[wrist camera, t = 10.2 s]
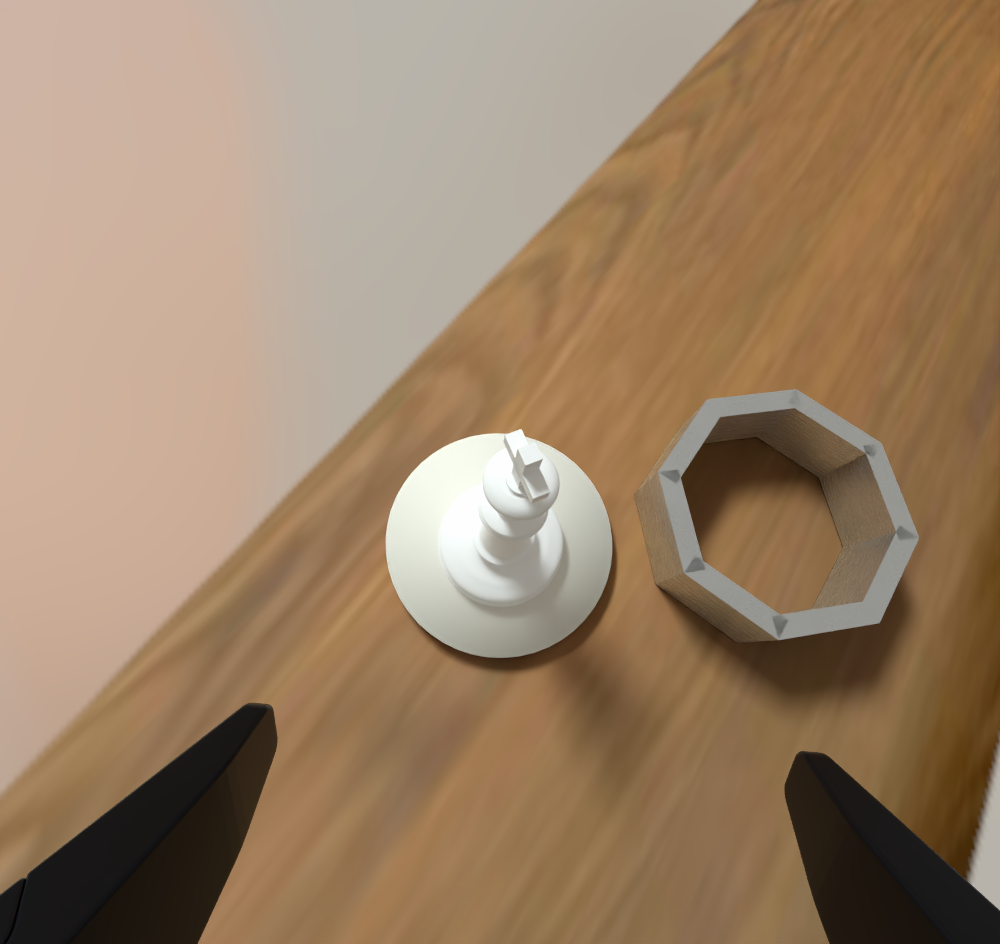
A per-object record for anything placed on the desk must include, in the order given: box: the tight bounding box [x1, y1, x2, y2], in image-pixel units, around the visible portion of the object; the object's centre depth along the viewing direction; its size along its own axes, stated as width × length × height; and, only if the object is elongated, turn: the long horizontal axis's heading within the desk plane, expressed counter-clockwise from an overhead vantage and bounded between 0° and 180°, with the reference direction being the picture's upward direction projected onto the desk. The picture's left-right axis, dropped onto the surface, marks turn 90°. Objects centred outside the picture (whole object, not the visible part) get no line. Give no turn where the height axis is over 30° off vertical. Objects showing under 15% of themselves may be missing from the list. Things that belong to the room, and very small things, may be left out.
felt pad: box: [386, 433, 612, 658], centre depth 22 cm, size 9×9×1 cm
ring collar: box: [634, 389, 919, 643], centre depth 22 cm, size 9×9×3 cm
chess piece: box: [438, 429, 563, 607], centre depth 17 cm, size 5×5×10 cm
